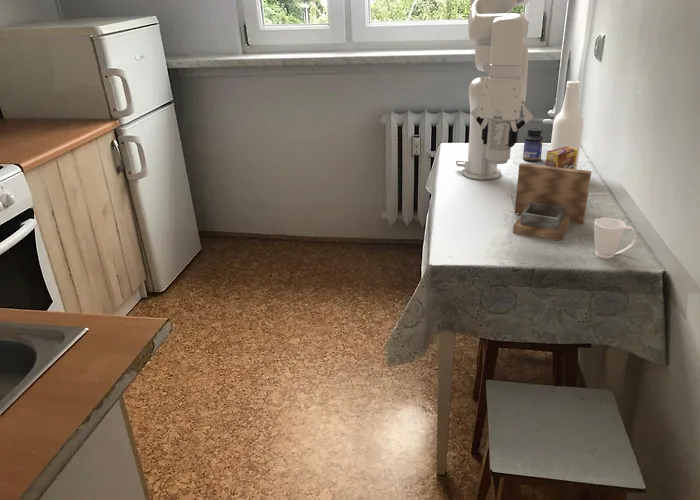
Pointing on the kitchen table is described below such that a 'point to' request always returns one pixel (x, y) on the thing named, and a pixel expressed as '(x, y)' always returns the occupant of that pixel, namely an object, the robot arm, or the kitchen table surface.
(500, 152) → the energy drink can
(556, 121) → the alcohol
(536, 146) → the pill bottle
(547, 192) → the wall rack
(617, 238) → the cup
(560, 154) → the candy box
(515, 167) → the kitchen table surface
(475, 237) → the kitchen table surface
